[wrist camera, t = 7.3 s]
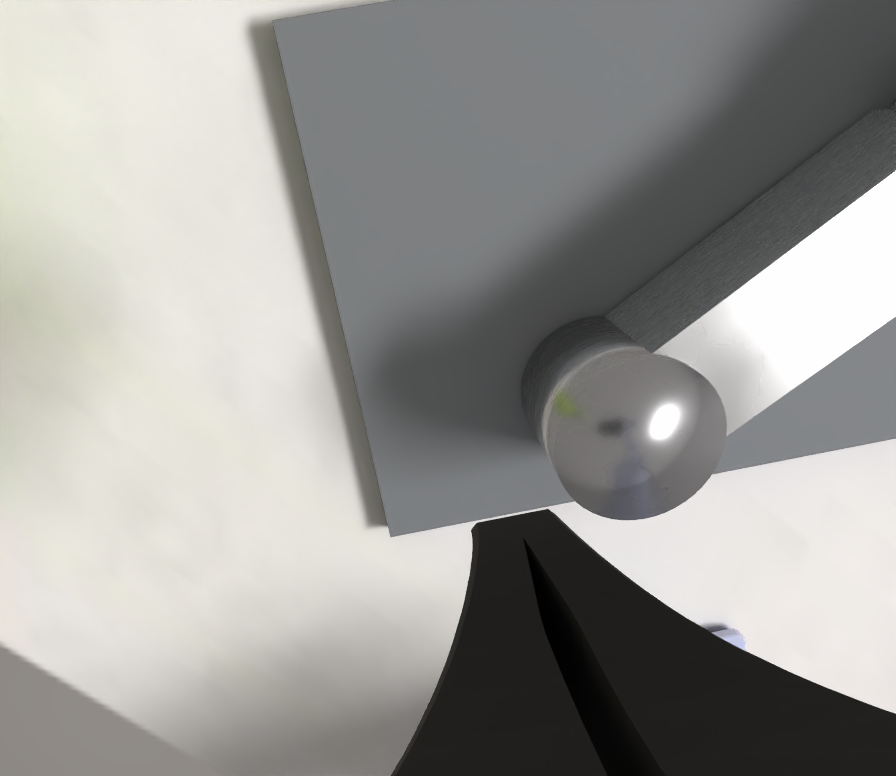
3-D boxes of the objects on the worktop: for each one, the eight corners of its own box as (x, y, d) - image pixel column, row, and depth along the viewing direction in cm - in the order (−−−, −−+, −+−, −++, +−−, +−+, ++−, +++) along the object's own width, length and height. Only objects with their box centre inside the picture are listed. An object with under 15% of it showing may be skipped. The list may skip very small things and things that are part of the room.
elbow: (575, 479, 21) (626, 566, 17) (490, 376, 20) (521, 443, 15) (975, 187, 19) (1148, 201, 15) (915, 46, 18) (1087, 18, 13)
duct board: (1101, 388, 23) (1322, 466, 18) (390, 527, 22) (394, 653, 17) (1214, -133, 18) (1587, -253, 12) (275, 24, 17) (227, -30, 11)
